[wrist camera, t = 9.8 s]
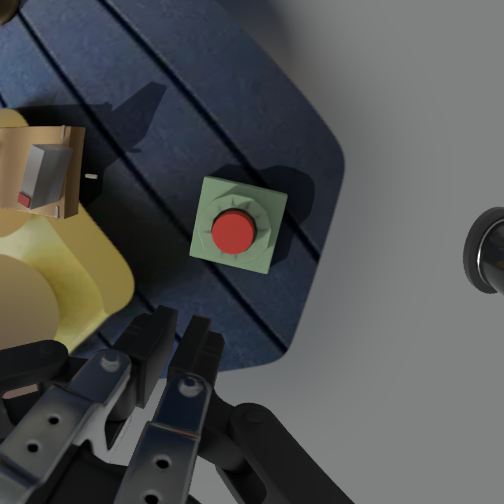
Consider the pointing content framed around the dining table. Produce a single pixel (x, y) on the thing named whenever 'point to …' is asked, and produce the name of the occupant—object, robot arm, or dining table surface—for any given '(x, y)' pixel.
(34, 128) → the panel
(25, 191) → the tap lever
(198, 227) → the button box
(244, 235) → the button
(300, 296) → the dining table surface
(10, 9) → the kendama
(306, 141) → the dining table surface
